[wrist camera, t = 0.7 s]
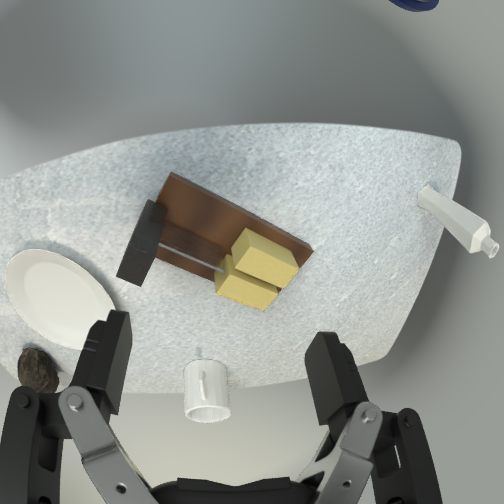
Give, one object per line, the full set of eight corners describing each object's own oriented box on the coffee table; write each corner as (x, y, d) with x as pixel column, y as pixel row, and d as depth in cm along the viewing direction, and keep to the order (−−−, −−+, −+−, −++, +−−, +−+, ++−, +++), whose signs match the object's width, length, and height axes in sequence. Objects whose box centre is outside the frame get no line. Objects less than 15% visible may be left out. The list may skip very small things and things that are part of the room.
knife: (135, 225, 29) (115, 276, 21) (148, 198, 27) (128, 244, 20) (213, 260, 33) (218, 315, 25) (229, 237, 31) (238, 290, 24)
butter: (213, 272, 34) (215, 293, 31) (245, 227, 31) (250, 245, 28) (258, 290, 37) (263, 311, 34) (290, 250, 34) (300, 269, 31)
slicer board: (136, 241, 32) (134, 248, 31) (170, 171, 28) (169, 175, 27) (267, 296, 40) (269, 303, 39) (310, 245, 36) (313, 251, 35)
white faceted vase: (422, 177, 33) (497, 230, 20) (438, 186, 34) (507, 237, 22) (409, 205, 35) (478, 264, 23) (426, 212, 36) (490, 268, 24)
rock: (41, 344, 39) (28, 389, 31) (70, 370, 46) (62, 410, 39) (13, 339, 38) (0, 379, 31) (42, 365, 46) (33, 401, 39)
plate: (-8, 256, 28) (-15, 265, 26) (83, 224, 29) (76, 233, 27) (52, 343, 40) (49, 352, 38) (141, 334, 41) (140, 345, 39)
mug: (222, 344, 45) (228, 394, 37) (227, 378, 52) (232, 420, 44) (176, 347, 44) (175, 397, 36) (188, 381, 51) (189, 423, 42)
